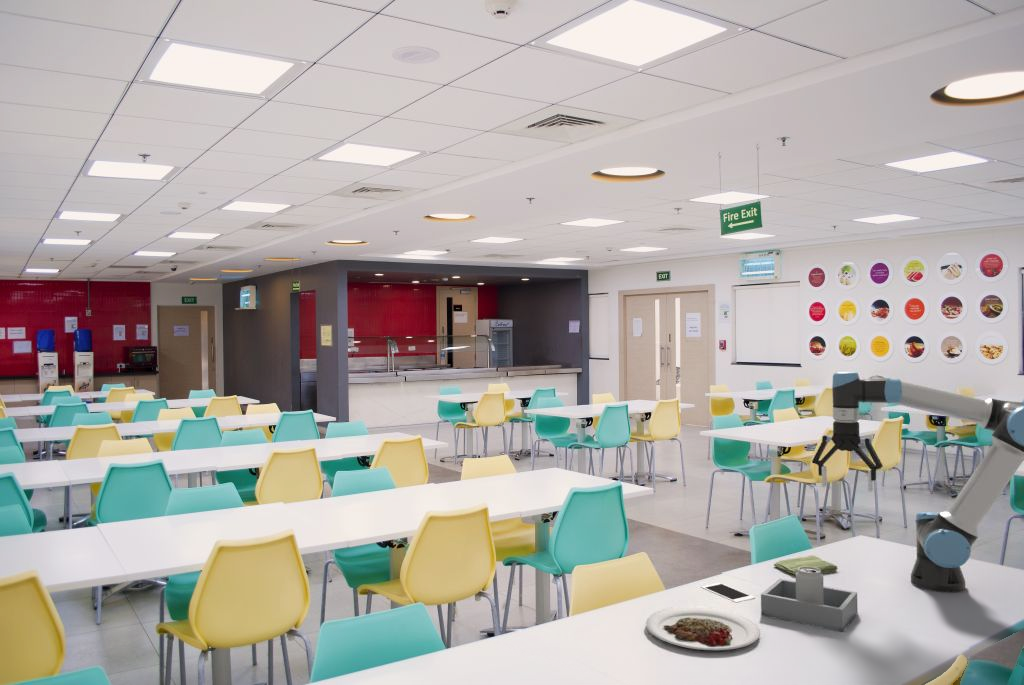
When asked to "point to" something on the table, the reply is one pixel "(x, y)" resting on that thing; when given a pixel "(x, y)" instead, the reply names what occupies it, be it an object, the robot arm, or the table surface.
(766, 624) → the table surface
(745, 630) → the plated food
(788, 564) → the washcloth
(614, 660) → the table surface
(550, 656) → the table surface
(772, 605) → the bin
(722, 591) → the cell phone
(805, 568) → the can
